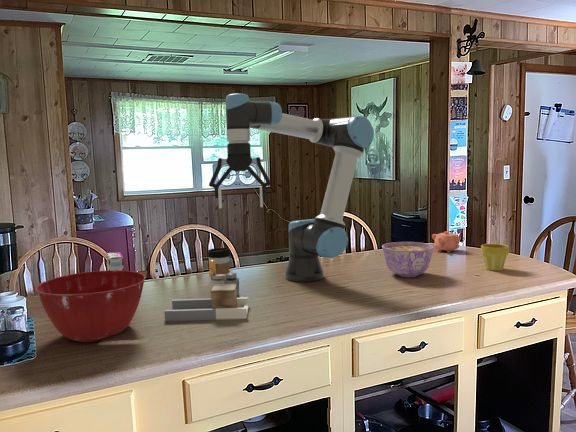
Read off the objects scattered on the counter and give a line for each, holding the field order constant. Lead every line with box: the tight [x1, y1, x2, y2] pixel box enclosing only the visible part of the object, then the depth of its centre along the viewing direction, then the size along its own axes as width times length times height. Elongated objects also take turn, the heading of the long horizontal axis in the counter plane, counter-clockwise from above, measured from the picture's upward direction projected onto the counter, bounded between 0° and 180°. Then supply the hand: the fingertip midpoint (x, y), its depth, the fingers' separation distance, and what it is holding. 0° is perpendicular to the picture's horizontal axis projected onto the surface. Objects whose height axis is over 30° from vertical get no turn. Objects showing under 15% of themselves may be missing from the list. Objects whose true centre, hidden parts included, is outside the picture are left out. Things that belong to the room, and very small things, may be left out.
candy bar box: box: [106, 251, 125, 271], centre depth 173 cm, size 11×5×16 cm, turn 23°
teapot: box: [431, 230, 461, 254], centre depth 246 cm, size 12×12×10 cm
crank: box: [208, 260, 238, 280], centre depth 168 cm, size 9×4×6 cm, turn 93°
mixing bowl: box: [35, 270, 146, 343], centre depth 142 cm, size 28×28×16 cm
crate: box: [210, 284, 237, 309], centre depth 155 cm, size 7×7×8 cm
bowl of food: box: [381, 241, 435, 278], centre depth 201 cm, size 20×20×12 cm
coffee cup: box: [207, 247, 231, 288], centre depth 187 cm, size 8×8×15 cm
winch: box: [224, 277, 247, 298], centre depth 169 cm, size 9×9×8 cm
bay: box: [164, 296, 250, 322], centre depth 155 cm, size 24×12×4 cm, turn 91°
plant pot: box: [480, 243, 510, 272], centre depth 207 cm, size 10×10×10 cm
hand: (241, 207), depth 168 cm, fingers open, 13 cm apart
